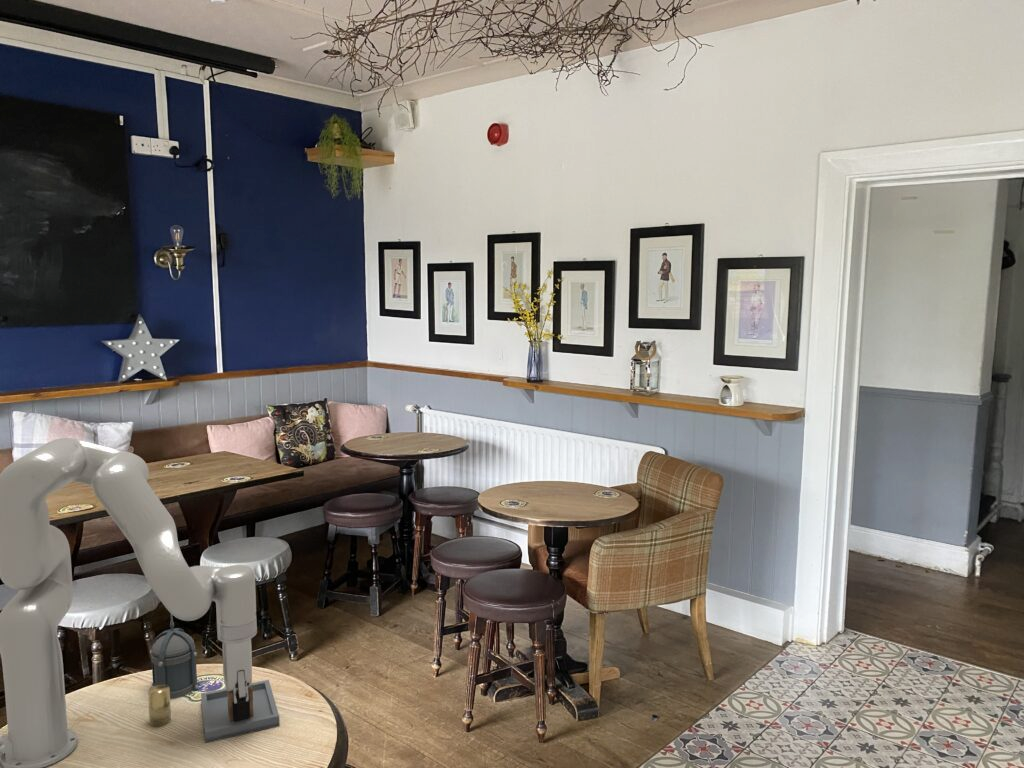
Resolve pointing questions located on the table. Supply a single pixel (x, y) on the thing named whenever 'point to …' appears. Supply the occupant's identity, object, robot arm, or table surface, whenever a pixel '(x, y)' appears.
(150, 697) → the brass cylinder
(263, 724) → the tray
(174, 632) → the lantern
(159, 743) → the table surface
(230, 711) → the walnut block
